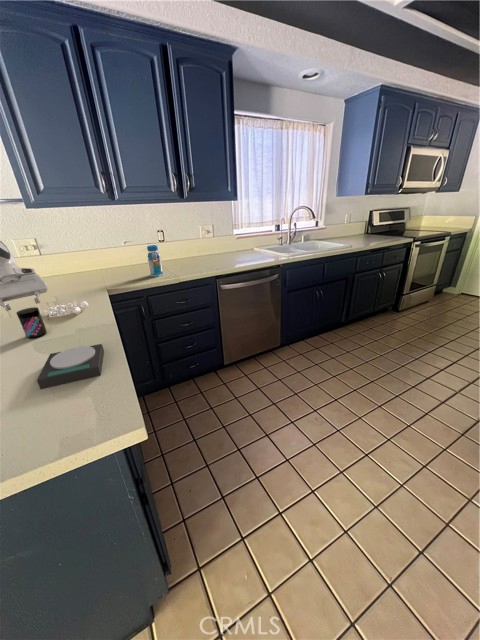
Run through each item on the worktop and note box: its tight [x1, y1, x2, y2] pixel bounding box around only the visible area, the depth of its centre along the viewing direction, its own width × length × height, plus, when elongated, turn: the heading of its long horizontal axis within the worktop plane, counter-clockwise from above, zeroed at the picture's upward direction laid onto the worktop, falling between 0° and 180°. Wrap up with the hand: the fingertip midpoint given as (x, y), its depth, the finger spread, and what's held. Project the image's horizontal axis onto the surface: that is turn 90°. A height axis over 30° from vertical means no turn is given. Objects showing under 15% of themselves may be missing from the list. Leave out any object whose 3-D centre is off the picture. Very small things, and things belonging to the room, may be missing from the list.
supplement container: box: [16, 306, 48, 340], centre depth 101 cm, size 7×7×10 cm
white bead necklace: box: [40, 300, 89, 318], centre depth 123 cm, size 19×14×4 cm
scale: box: [36, 343, 105, 390], centre depth 80 cm, size 15×15×4 cm
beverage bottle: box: [146, 244, 164, 277], centre depth 180 cm, size 8×8×20 cm
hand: (23, 306), depth 103 cm, fingers open, 8 cm apart
